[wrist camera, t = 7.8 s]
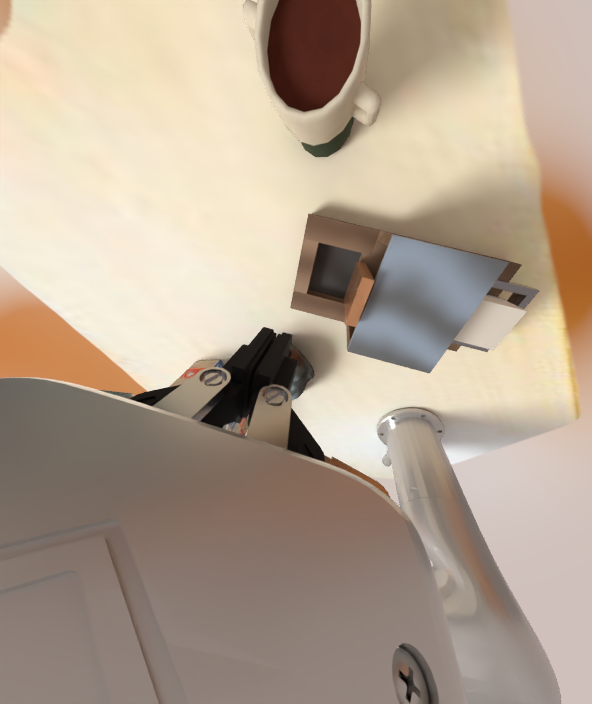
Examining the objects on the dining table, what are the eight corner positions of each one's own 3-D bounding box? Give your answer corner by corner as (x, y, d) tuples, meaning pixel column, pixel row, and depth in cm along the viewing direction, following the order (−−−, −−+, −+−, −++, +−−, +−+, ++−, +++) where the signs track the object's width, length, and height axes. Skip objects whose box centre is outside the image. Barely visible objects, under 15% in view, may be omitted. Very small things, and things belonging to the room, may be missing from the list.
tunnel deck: (449, 343, 34) (489, 389, 25) (293, 302, 35) (276, 332, 26) (508, 261, 27) (593, 282, 18) (311, 214, 28) (296, 211, 19)
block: (467, 328, 30) (493, 350, 25) (432, 319, 30) (450, 339, 25) (493, 294, 27) (527, 311, 22) (454, 284, 27) (479, 299, 22)
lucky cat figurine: (294, 400, 47) (245, 446, 38) (259, 361, 49) (205, 396, 40) (327, 369, 36) (268, 424, 27) (280, 320, 38) (211, 356, 29)
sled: (479, 344, 30) (526, 388, 23) (340, 308, 31) (339, 338, 24) (526, 286, 26) (607, 315, 18) (361, 245, 27) (369, 256, 19)
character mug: (387, 108, 22) (431, 1, 11) (347, 185, 26) (350, 161, 15) (297, 41, 21) (248, -151, 10) (269, 132, 25) (211, 64, 14)
